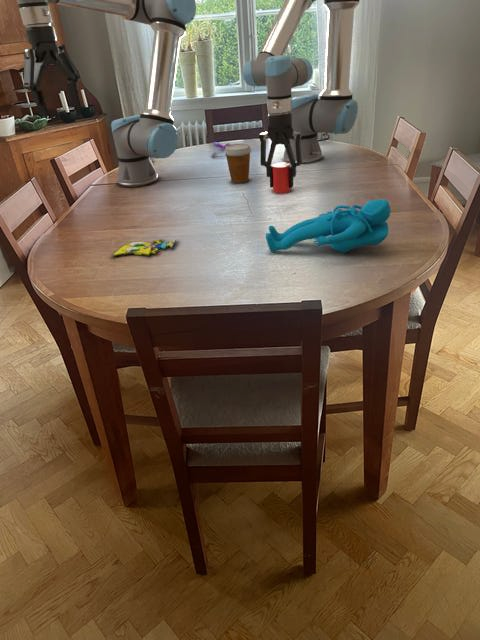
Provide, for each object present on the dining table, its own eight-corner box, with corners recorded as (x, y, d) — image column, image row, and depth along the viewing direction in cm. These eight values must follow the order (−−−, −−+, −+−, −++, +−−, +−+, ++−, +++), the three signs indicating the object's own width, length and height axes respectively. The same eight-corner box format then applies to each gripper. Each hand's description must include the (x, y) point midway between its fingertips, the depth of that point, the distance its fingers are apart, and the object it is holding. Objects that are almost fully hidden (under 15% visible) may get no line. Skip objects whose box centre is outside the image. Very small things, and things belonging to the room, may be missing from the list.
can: (273, 194, 160) (271, 167, 155) (273, 188, 164) (272, 162, 160) (290, 193, 159) (290, 166, 154) (290, 187, 164) (290, 161, 159)
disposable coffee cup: (222, 184, 172) (219, 149, 166) (233, 176, 180) (230, 142, 173) (247, 185, 169) (245, 150, 163) (256, 177, 176) (254, 143, 170)
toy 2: (270, 213, 128) (386, 185, 117) (281, 248, 133) (393, 225, 122) (259, 239, 114) (389, 210, 104) (272, 277, 119) (397, 254, 109)
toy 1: (167, 253, 124) (112, 254, 126) (167, 256, 124) (112, 257, 126) (176, 237, 132) (124, 238, 134) (176, 240, 133) (125, 241, 135)
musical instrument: (233, 161, 200) (257, 143, 213) (232, 156, 199) (256, 138, 211) (189, 161, 213) (214, 143, 225) (188, 156, 212) (212, 139, 224)
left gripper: (13, 28, 118) (39, 120, 129) (80, 22, 136) (98, 103, 148) (-9, 30, 120) (19, 120, 132) (60, 24, 139) (79, 103, 151)
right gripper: (247, 116, 148) (251, 189, 160) (307, 114, 143) (307, 190, 155) (253, 111, 154) (257, 182, 166) (311, 109, 149) (311, 183, 161)
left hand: (61, 111), depth 140 cm, fingers open, 13 cm apart
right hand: (281, 186), depth 161 cm, fingers closed on can, 6 cm apart
